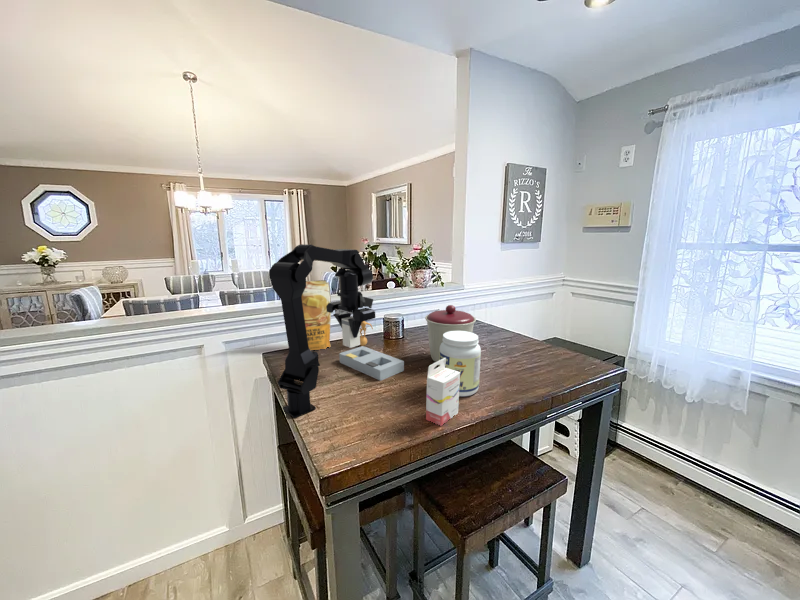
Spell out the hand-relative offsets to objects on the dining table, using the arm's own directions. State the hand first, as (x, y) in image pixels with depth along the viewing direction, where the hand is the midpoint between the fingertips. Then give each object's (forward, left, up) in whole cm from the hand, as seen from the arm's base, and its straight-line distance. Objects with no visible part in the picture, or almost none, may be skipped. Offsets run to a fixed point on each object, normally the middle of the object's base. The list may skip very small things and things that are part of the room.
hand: (351, 336), depth 108 cm
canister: (-16, -32, -14) cm, 39 cm away
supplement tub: (-31, -16, -14) cm, 38 cm away
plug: (0, 0, -3) cm, 3 cm away
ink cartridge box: (-37, 0, -14) cm, 40 cm away
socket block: (+1, -9, -14) cm, 16 cm away
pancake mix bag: (+32, -3, -14) cm, 35 cm away
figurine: (+19, -20, -14) cm, 31 cm away
